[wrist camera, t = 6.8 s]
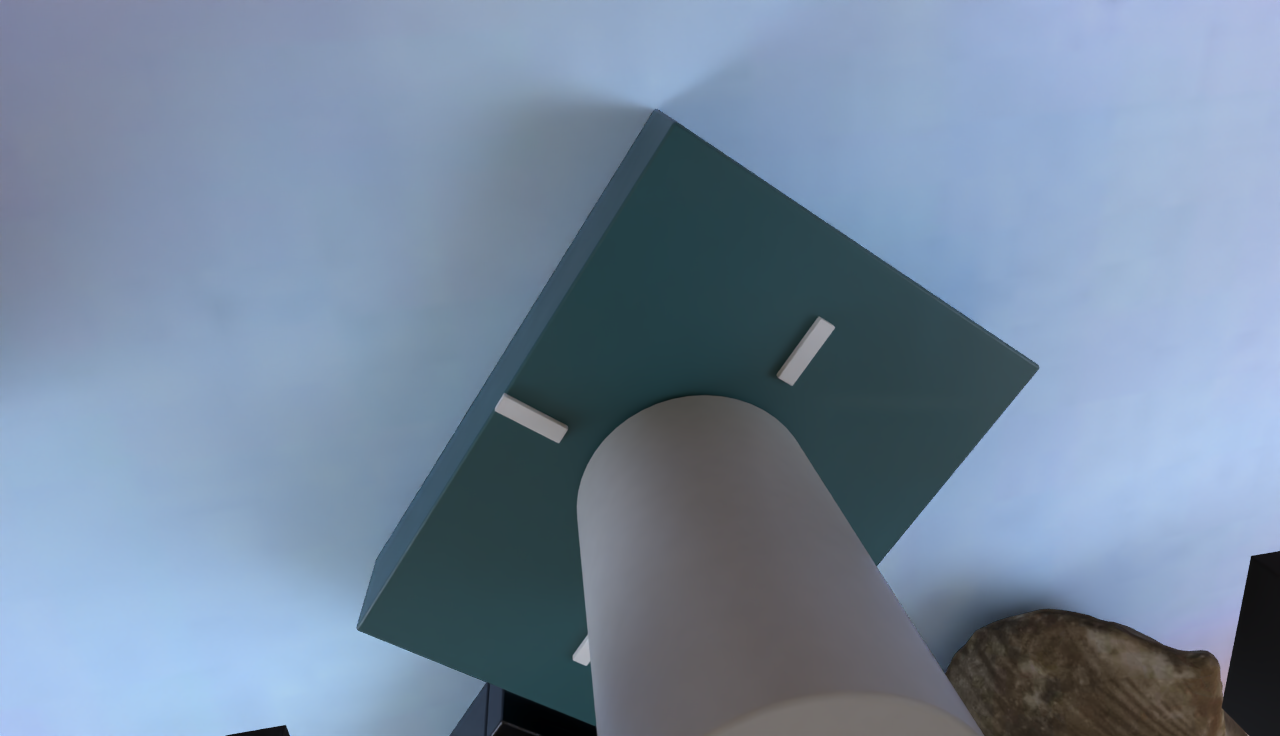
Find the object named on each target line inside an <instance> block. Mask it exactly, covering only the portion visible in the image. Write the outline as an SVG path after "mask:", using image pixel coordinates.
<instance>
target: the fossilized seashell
mask: <svg viewBox="0 0 1280 736" xmlns="http://www.w3.org/2000/svg"><path fill="white" fill-rule="evenodd" d="M945 675H946V676H947V678H948V680H949V681H950V683H951V684H952V686H953V687H954V689H955V691H956V692H957V694H958V695H959V697H960V698H961V700H962V702H963V703H964V705H965V706H966V708H967V709H968V711H969V713H970V714H971V716H972V717H973V719H974V720H975V722H976V724H977V725H978V727H979V728H980V730H981V731H982V733H983V735H984V736H1248V735H1247V734H1246V732H1245V731H1244V730H1243V729H1242V728H1241V727H1240V726H1239V725H1238V724H1237V723H1236V722H1235V721H1234V720H1233V719H1232V718H1231V717H1230V716H1229V715H1228V714H1227V713H1226V712H1225V711H1224V710H1223V709H1222V708H1221V707H1222V702H1223V693H1222V683H1221V679H1220V666H1219V663H1218V660H1217V659H1216V658H1215V656H1214V655H1213V654H1211V653H1209V652H1208V651H1203V650H1198V651H1182V650H1177V649H1174V648H1171V647H1168V646H1165V645H1163V644H1161V643H1159V642H1158V641H1156V640H1154V639H1153V638H1151V637H1148V636H1146V635H1144V634H1142V633H1140V632H1138V631H1136V630H1134V629H1132V628H1130V627H1128V626H1125V625H1122V624H1119V623H1115V622H1108V621H1104V620H1100V619H1097V618H1095V617H1092V616H1089V615H1085V614H1081V613H1076V612H1071V611H1065V610H1058V609H1041V610H1036V611H1032V612H1028V613H1023V614H1019V615H1015V616H1011V617H1007V618H1004V619H1001V620H998V621H996V622H993V623H991V624H988V625H986V626H984V627H982V628H980V629H978V630H976V631H975V632H974V634H973V635H972V636H971V638H970V639H969V640H968V642H967V643H966V644H965V645H964V646H963V647H962V648H961V649H960V650H959V651H957V652H956V654H955V655H954V657H953V659H952V660H951V662H950V664H949V667H948V669H947V671H946V674H945Z"/></svg>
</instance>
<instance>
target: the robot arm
mask: <svg viewBox="0 0 1280 736" xmlns="http://www.w3.org/2000/svg"><path fill="white" fill-rule="evenodd" d="M1221 708H1222V709H1223V710H1224V711H1225V712H1226V713H1227V714H1228V715H1229V716H1230V717H1231V718H1232V719H1233V720H1234V721H1235V722H1236V723H1237V724H1238V725H1239V726H1240V727H1241V728H1242V729H1243V730H1244V731H1245V732H1246V733H1247V734H1248V735H1249V736H1280V551H1278V552H1272V553H1266V554H1260V555H1255V556H1251V560H1250V565H1249V570H1248V575H1247V580H1246V585H1245V590H1244V595H1243V600H1242V605H1241V611H1240V616H1239V621H1238V626H1237V631H1236V636H1235V641H1234V646H1233V651H1232V656H1231V661H1230V667H1229V672H1228V677H1227V682H1226V687H1225V692H1224V697H1223V702H1222V707H1221ZM226 736H290V735H289V732H288V730H287V727H286V725H283V726H277V727H272V728H266V729H260V730H255V731H249V732H243V733H237V734H232V735H226Z"/></svg>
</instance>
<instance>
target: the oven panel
mask: <svg viewBox="0 0 1280 736" xmlns="http://www.w3.org/2000/svg"><path fill="white" fill-rule="evenodd" d="M1038 369H1039V366H1038V364H1036V363H1035V362H1033V361H1032V360H1030V359H1029V358H1027V357H1026V356H1024V355H1023V354H1021V353H1020V352H1018V351H1017V350H1015V349H1014V348H1012V347H1011V346H1009V345H1008V344H1006V343H1005V342H1003V341H1002V340H1000V339H999V338H998V337H996V336H995V335H993V334H992V333H990V332H989V331H987V330H986V329H984V328H983V327H981V326H980V325H978V324H977V323H975V322H974V321H972V320H971V319H969V318H968V317H966V316H965V315H963V314H962V313H960V312H959V311H957V310H956V309H954V308H953V307H951V306H950V305H948V304H947V303H945V302H944V301H942V300H941V299H940V298H938V297H937V296H935V295H934V294H932V293H931V292H929V291H928V290H926V289H925V288H923V287H922V286H920V285H919V284H917V283H916V282H914V281H913V280H911V279H910V278H908V277H907V276H905V275H904V274H902V273H901V272H899V271H898V270H896V269H895V268H893V267H892V266H890V265H889V264H887V263H886V262H884V261H883V260H882V259H880V258H879V257H877V256H876V255H874V254H873V253H871V252H870V251H868V250H867V249H865V248H864V247H862V246H861V245H859V244H858V243H856V242H855V241H853V240H852V239H850V238H849V237H847V236H846V235H844V234H843V233H841V232H840V231H838V230H837V229H835V228H834V227H832V226H831V225H829V224H828V223H826V222H825V221H824V220H822V219H821V218H819V217H818V216H816V215H815V214H813V213H812V212H810V211H809V210H807V209H806V208H804V207H803V206H801V205H800V204H798V203H797V202H795V201H794V200H792V199H791V198H789V197H788V196H786V195H785V194H783V193H782V192H780V191H779V190H777V189H776V188H774V187H773V186H771V185H770V184H768V183H767V182H766V181H764V180H763V179H761V178H760V177H758V176H757V175H755V174H754V173H752V172H751V171H749V170H748V169H746V168H745V167H743V166H742V165H740V164H739V163H737V162H736V161H734V160H733V159H731V158H730V157H728V156H727V155H725V154H724V153H722V152H721V151H719V150H718V149H716V148H715V147H713V146H712V145H711V144H709V143H708V142H706V141H705V140H703V139H702V138H700V137H699V136H697V135H696V134H694V133H693V132H691V131H690V130H688V129H687V128H685V127H684V126H682V125H681V124H679V123H678V122H676V121H675V120H673V119H672V118H670V117H669V116H667V115H666V114H664V113H663V112H661V111H660V110H658V109H655V110H654V111H653V113H652V114H651V116H650V117H649V119H648V121H647V122H646V124H645V125H644V127H643V129H642V130H641V132H640V134H639V135H638V137H637V138H636V140H635V142H634V143H633V145H632V146H631V148H630V150H629V151H628V153H627V155H626V156H625V158H624V159H623V161H622V163H621V164H620V166H619V168H618V169H617V171H616V172H615V174H614V176H613V177H612V179H611V180H610V182H609V184H608V185H607V187H606V189H605V190H604V192H603V193H602V195H601V197H600V198H599V200H598V202H597V203H596V205H595V206H594V208H593V210H592V211H591V213H590V214H589V216H588V218H587V219H586V221H585V223H584V224H583V226H582V227H581V229H580V231H579V232H578V234H577V235H576V237H575V239H574V240H573V242H572V244H571V245H570V247H569V248H568V250H567V252H566V253H565V255H564V257H563V258H562V260H561V261H560V263H559V265H558V266H557V268H556V269H555V271H554V273H553V274H552V276H551V278H550V279H549V281H548V282H547V284H546V286H545V287H544V289H543V290H542V292H541V294H540V295H539V297H538V299H537V300H536V302H535V303H534V305H533V307H532V308H531V310H530V312H529V313H528V315H527V316H526V318H525V320H524V321H523V323H522V324H521V326H520V328H519V329H518V331H517V333H516V334H515V336H514V337H513V339H512V341H511V342H510V344H509V346H508V347H507V349H506V350H505V352H504V354H503V355H502V357H501V358H500V360H499V362H498V363H497V365H496V367H495V368H494V370H493V371H492V373H491V375H490V376H489V378H488V379H487V381H486V383H485V384H484V386H483V388H482V389H481V391H480V392H479V394H478V396H477V397H476V399H475V401H474V402H473V404H472V405H471V407H470V409H469V410H468V412H467V413H466V415H465V417H464V418H463V420H462V422H461V423H460V425H459V426H458V428H457V430H456V431H455V433H454V435H453V436H452V438H451V439H450V441H449V443H448V444H447V446H446V447H445V449H444V451H443V452H442V454H441V456H440V457H439V459H438V460H437V462H436V464H435V465H434V467H433V468H432V470H431V472H430V473H429V475H428V477H427V478H426V480H425V481H424V483H423V485H422V486H421V488H420V490H419V491H418V493H417V494H416V496H415V498H414V499H413V501H412V502H411V504H410V506H409V507H408V509H407V511H406V512H405V514H404V515H403V517H402V519H401V520H400V522H399V524H398V525H397V527H396V528H395V530H394V532H393V533H392V535H391V536H390V538H389V540H388V541H387V543H386V545H385V546H384V548H383V549H382V551H381V553H380V554H379V556H378V557H377V559H376V562H375V565H374V569H373V572H372V576H371V579H370V582H369V586H368V589H367V593H366V596H365V600H364V603H363V607H362V610H361V613H360V617H359V620H358V624H357V630H358V631H361V632H363V633H366V634H368V635H371V636H373V637H376V638H378V639H381V640H383V641H385V642H388V643H390V644H393V645H395V646H398V647H400V648H403V649H405V650H408V651H410V652H413V653H415V654H418V655H420V656H423V657H425V658H428V659H430V660H433V661H435V662H438V663H440V664H443V665H445V666H447V667H450V668H452V669H455V670H457V671H460V672H462V673H465V674H467V675H470V676H472V677H475V678H477V679H480V680H482V681H485V682H487V683H490V684H492V685H495V686H497V687H500V688H502V689H505V690H507V691H510V692H512V693H514V694H517V695H519V696H522V697H524V698H527V699H529V700H532V701H534V702H537V703H539V704H542V705H544V706H547V707H549V708H552V709H554V710H557V711H559V712H562V713H564V714H567V715H569V716H572V717H574V718H576V719H579V720H581V721H584V722H586V723H589V724H591V725H594V726H596V715H595V705H594V694H593V683H592V672H591V661H590V651H589V640H588V629H587V618H586V607H585V597H584V586H583V575H582V564H581V554H580V543H579V532H578V521H577V498H578V490H579V487H580V483H581V479H582V476H583V474H584V471H585V469H586V467H587V464H588V463H589V461H590V459H591V457H592V456H593V454H594V452H595V451H596V450H597V448H598V447H599V446H600V445H601V443H602V442H603V441H604V439H605V438H606V437H607V436H608V435H610V434H611V433H612V432H613V431H614V430H615V429H616V428H617V427H618V426H619V425H621V424H622V423H623V422H625V421H626V420H627V419H628V418H630V417H632V416H634V415H635V414H637V413H639V412H640V411H642V410H644V409H646V408H649V407H651V406H653V405H655V404H658V403H661V402H664V401H668V400H671V399H675V398H681V397H686V396H699V395H710V396H722V397H728V398H733V399H737V400H740V401H743V402H746V403H749V404H752V405H754V406H756V407H758V408H760V409H762V410H764V411H766V412H767V413H769V414H770V415H772V416H773V417H775V418H776V419H777V420H778V421H779V422H781V423H782V424H783V425H784V426H785V427H786V428H787V429H788V430H789V432H790V433H791V434H792V435H793V437H794V438H795V439H796V441H797V442H798V444H799V445H800V447H801V449H802V450H803V452H804V453H805V455H806V456H807V458H808V460H809V461H810V463H811V464H812V466H813V467H814V469H815V471H816V472H817V474H818V475H819V477H820V478H821V480H822V482H823V483H824V485H825V486H826V488H827V489H828V491H829V493H830V494H831V496H832V497H833V499H834V500H835V502H836V504H837V505H838V507H839V508H840V510H841V511H842V513H843V515H844V516H845V518H846V519H847V521H848V522H849V524H850V526H851V527H852V529H853V530H854V532H855V533H856V535H857V537H858V538H859V540H860V541H861V543H862V544H863V546H864V548H865V549H866V551H867V552H868V554H869V555H870V557H871V559H872V560H873V562H874V563H875V565H876V566H877V565H878V564H879V563H880V562H881V560H882V559H883V558H884V557H885V556H886V554H887V553H888V552H889V551H890V549H891V548H892V547H893V546H894V545H895V543H896V542H897V541H898V540H899V538H900V537H901V536H902V535H903V534H904V532H905V531H906V530H907V529H908V528H909V526H910V525H911V524H912V523H913V521H914V520H915V519H916V518H917V517H918V515H919V514H920V513H921V512H922V511H923V509H924V508H925V507H926V506H927V504H928V503H929V502H930V501H931V500H932V498H933V497H934V496H935V495H936V493H937V492H938V491H939V490H940V489H941V487H942V486H943V485H944V484H945V483H946V481H947V480H948V479H949V478H950V476H951V475H952V474H953V473H954V472H955V470H956V469H957V468H958V467H959V466H960V464H961V463H962V462H963V461H964V459H965V458H966V457H967V456H968V455H969V453H970V452H971V451H972V450H973V448H974V447H975V446H976V445H977V444H978V442H979V441H980V440H981V439H982V438H983V436H984V435H985V434H986V433H987V431H988V430H989V429H990V428H991V427H992V425H993V424H994V423H995V422H996V421H997V419H998V418H999V417H1000V416H1001V414H1002V413H1003V412H1004V411H1005V410H1006V408H1007V407H1008V406H1009V405H1010V403H1011V402H1012V401H1013V400H1014V399H1015V397H1016V396H1017V395H1018V394H1019V393H1020V391H1021V390H1022V389H1023V388H1024V386H1025V385H1026V384H1027V383H1028V382H1029V380H1030V379H1031V378H1032V377H1033V376H1034V374H1035V373H1036V372H1037V371H1038ZM596 727H597V726H596Z"/></svg>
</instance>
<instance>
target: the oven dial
mask: <svg viewBox="0 0 1280 736" xmlns="http://www.w3.org/2000/svg"><path fill="white" fill-rule="evenodd" d="M577 521H578V532H579V543H580V554H581V564H582V575H583V586H584V597H585V607H586V618H587V629H588V640H589V651H590V661H591V672H592V683H593V694H594V705H595V715H596V726H597V736H984V735H983V733H982V731H981V730H980V728H979V727H978V725H977V724H976V722H975V720H974V719H973V717H972V716H971V714H970V713H969V711H968V709H967V708H966V706H965V705H964V703H963V702H962V700H961V698H960V697H959V695H958V694H957V692H956V691H955V689H954V687H953V686H952V684H951V683H950V681H949V680H948V678H947V676H946V675H945V673H944V672H943V670H942V669H941V667H940V665H939V664H938V662H937V661H936V659H935V658H934V656H933V654H932V653H931V651H930V650H929V648H928V647H927V645H926V643H925V642H924V640H923V639H922V637H921V636H920V634H919V632H918V631H917V629H916V628H915V626H914V625H913V623H912V621H911V620H910V618H909V617H908V615H907V614H906V612H905V610H904V609H903V607H902V606H901V604H900V603H899V601H898V599H897V598H896V596H895V595H894V593H893V592H892V590H891V588H890V587H889V585H888V584H887V582H886V581H885V579H884V577H883V576H882V574H881V573H880V571H879V570H878V568H877V566H876V565H875V563H874V562H873V560H872V559H871V557H870V555H869V554H868V552H867V551H866V549H865V548H864V546H863V544H862V543H861V541H860V540H859V538H858V537H857V535H856V533H855V532H854V530H853V529H852V527H851V526H850V524H849V522H848V521H847V519H846V518H845V516H844V515H843V513H842V511H841V510H840V508H839V507H838V505H837V504H836V502H835V500H834V499H833V497H832V496H831V494H830V493H829V491H828V489H827V488H826V486H825V485H824V483H823V482H822V480H821V478H820V477H819V475H818V474H817V472H816V471H815V469H814V467H813V466H812V464H811V463H810V461H809V460H808V458H807V456H806V455H805V453H804V452H803V450H802V449H801V447H800V445H799V444H798V442H797V441H796V439H795V438H794V437H793V435H792V434H791V433H790V432H789V430H788V429H787V428H786V427H785V426H784V425H783V424H782V423H781V422H779V421H778V420H777V419H776V418H775V417H773V416H772V415H770V414H769V413H767V412H766V411H764V410H762V409H760V408H758V407H756V406H754V405H752V404H749V403H746V402H743V401H740V400H737V399H733V398H728V397H722V396H710V395H699V396H686V397H681V398H675V399H671V400H668V401H664V402H661V403H658V404H655V405H653V406H651V407H649V408H646V409H644V410H642V411H640V412H639V413H637V414H635V415H634V416H632V417H630V418H628V419H627V420H626V421H625V422H623V423H622V424H621V425H619V426H618V427H617V428H616V429H615V430H614V431H613V432H612V433H611V434H610V435H608V436H607V437H606V438H605V439H604V441H603V442H602V443H601V445H600V446H599V447H598V448H597V450H596V451H595V452H594V454H593V456H592V457H591V459H590V461H589V463H588V464H587V467H586V469H585V471H584V474H583V476H582V479H581V483H580V487H579V490H578V498H577Z"/></svg>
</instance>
